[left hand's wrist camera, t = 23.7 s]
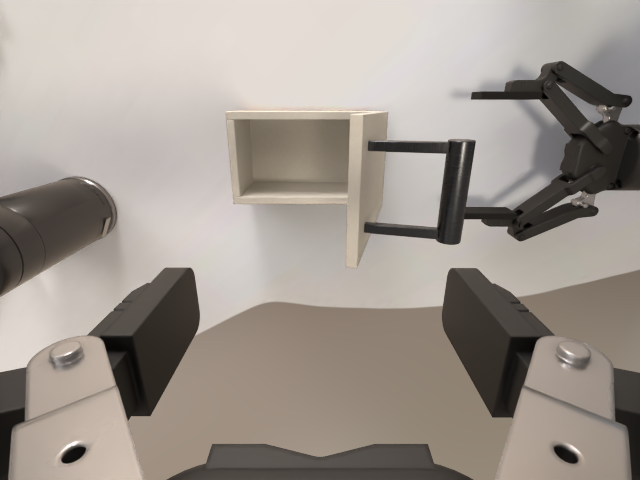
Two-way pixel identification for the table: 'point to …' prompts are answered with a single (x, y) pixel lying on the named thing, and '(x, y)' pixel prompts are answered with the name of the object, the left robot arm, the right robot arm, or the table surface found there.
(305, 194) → the cream rectangular box
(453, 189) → the lid
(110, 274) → the table surface
